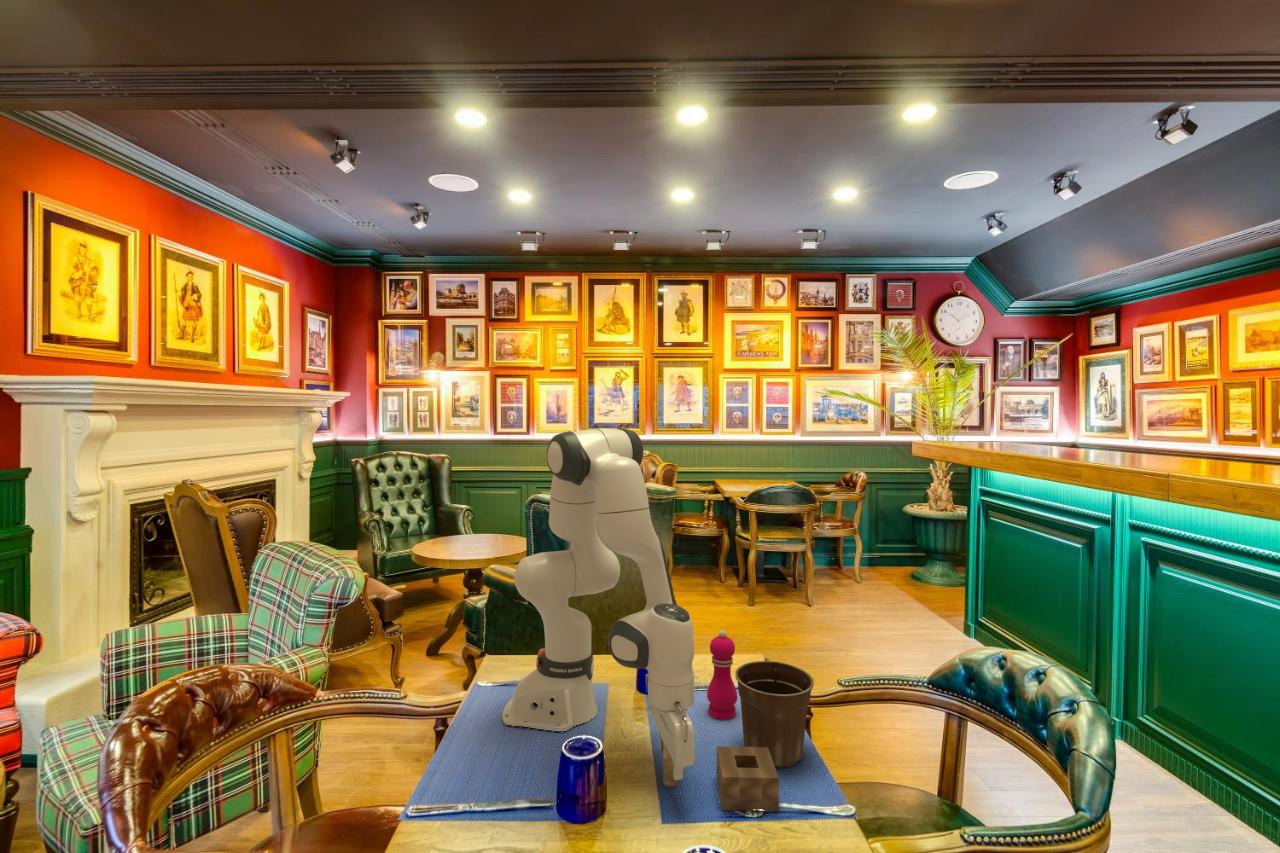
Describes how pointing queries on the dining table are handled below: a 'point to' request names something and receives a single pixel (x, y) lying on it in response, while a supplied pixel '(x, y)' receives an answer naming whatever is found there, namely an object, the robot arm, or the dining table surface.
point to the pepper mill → (722, 679)
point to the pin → (668, 769)
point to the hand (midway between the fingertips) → (670, 763)
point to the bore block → (747, 779)
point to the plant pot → (774, 708)
